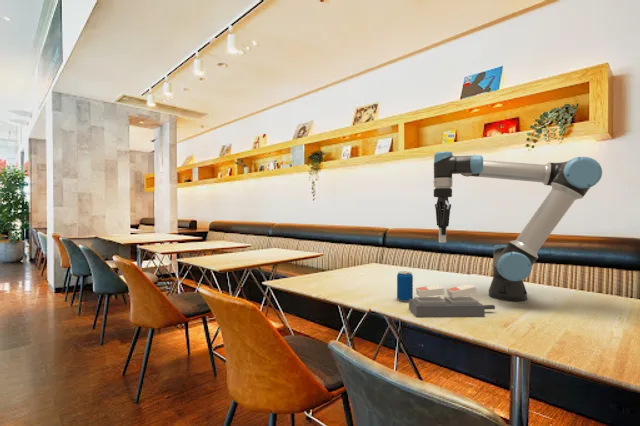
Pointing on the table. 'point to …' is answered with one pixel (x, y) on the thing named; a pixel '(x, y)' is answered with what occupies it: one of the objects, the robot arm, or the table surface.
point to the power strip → (447, 307)
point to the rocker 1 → (429, 291)
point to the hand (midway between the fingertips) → (442, 242)
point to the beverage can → (404, 286)
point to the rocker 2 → (461, 291)
